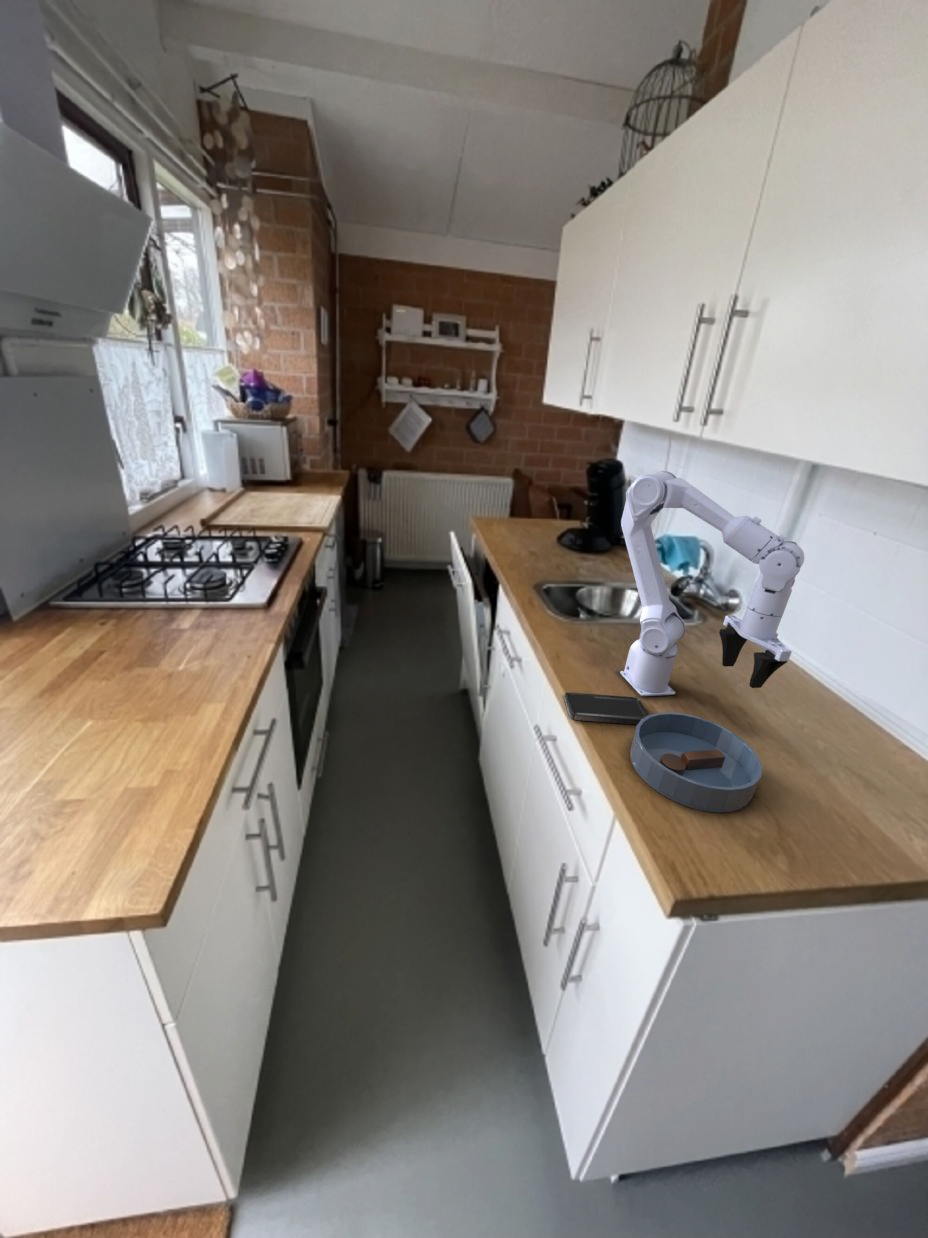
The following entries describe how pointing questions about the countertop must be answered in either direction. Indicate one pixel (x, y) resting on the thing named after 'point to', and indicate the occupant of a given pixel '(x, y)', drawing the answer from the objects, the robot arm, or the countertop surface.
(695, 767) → the brown elongated piece
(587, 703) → the phone
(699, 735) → the shallow round tray
